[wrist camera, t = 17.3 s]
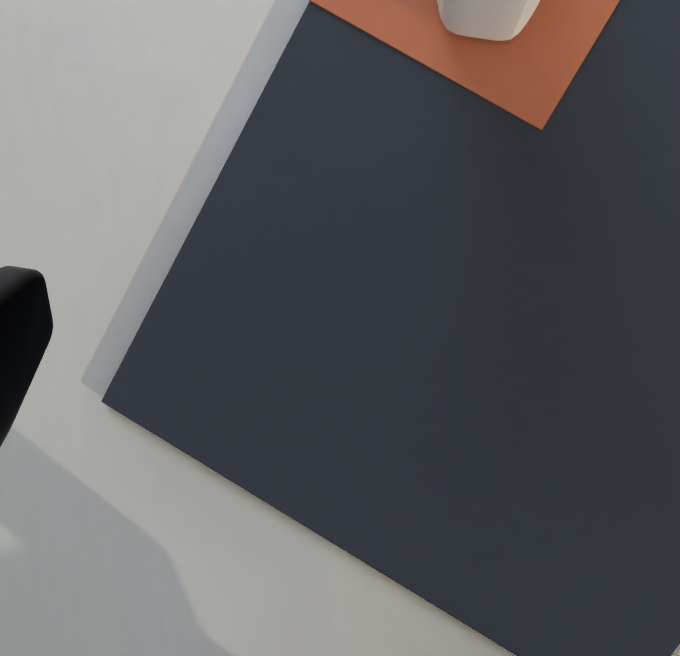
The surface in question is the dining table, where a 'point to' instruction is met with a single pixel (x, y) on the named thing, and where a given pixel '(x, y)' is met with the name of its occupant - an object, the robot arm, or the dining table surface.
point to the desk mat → (450, 314)
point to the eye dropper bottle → (486, 17)
